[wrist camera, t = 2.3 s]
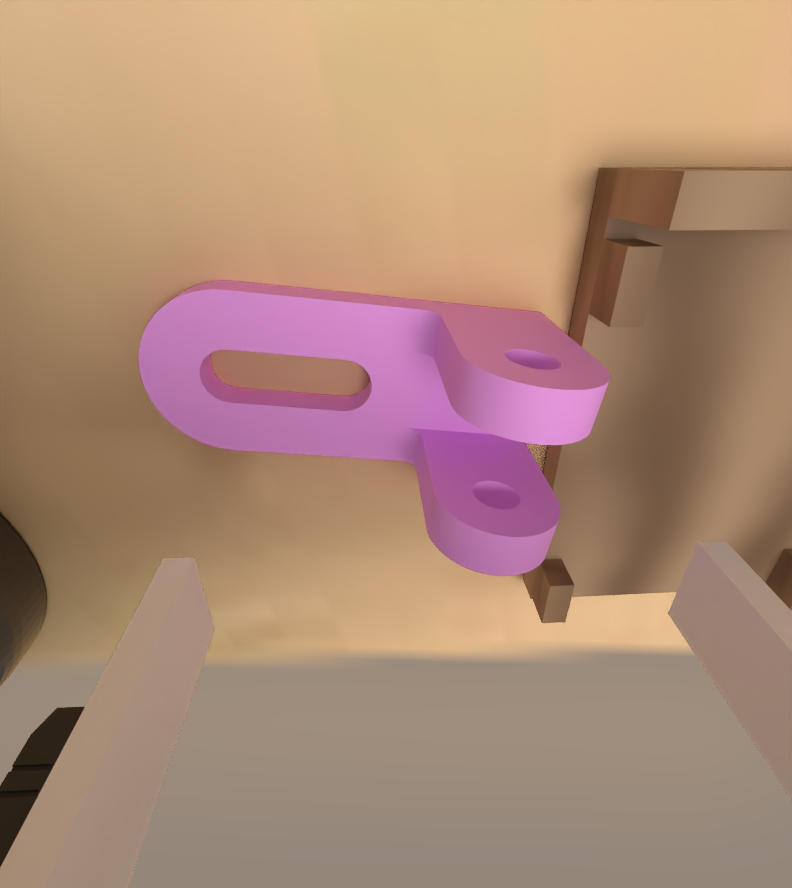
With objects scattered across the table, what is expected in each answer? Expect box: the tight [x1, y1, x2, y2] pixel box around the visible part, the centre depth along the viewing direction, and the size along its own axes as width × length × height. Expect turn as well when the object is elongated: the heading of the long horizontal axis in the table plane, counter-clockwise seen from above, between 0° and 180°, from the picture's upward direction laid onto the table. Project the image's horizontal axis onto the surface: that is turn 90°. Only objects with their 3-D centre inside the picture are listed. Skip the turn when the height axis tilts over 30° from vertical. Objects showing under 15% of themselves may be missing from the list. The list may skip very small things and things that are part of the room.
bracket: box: [139, 280, 610, 576], centre depth 14 cm, size 13×6×7 cm, turn 83°
